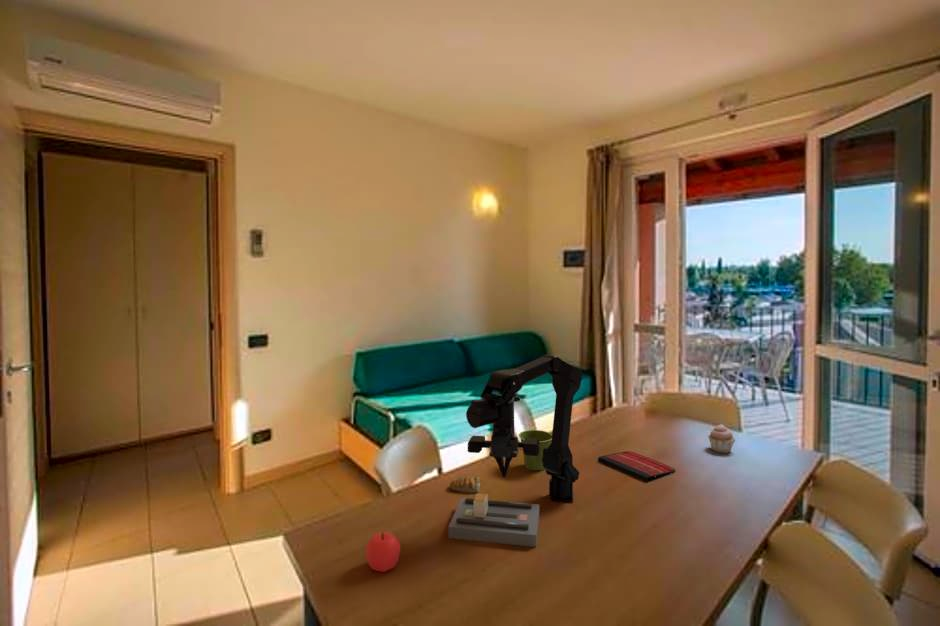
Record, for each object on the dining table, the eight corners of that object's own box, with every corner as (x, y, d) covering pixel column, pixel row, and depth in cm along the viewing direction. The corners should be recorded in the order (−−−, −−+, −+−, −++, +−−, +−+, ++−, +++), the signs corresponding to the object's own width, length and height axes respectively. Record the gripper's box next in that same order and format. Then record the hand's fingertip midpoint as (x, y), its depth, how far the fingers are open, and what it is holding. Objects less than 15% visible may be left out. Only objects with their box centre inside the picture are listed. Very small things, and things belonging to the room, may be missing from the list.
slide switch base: (539, 514, 135) (539, 500, 134) (535, 546, 119) (535, 530, 119) (461, 508, 139) (461, 493, 139) (448, 538, 123) (448, 522, 123)
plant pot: (514, 471, 164) (514, 438, 163) (524, 458, 175) (524, 428, 174) (548, 476, 160) (549, 443, 159) (556, 463, 171) (556, 432, 170)
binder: (647, 477, 154) (597, 456, 172) (646, 484, 155) (597, 462, 172) (678, 468, 163) (628, 449, 181) (678, 474, 163) (627, 455, 181)
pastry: (449, 493, 149) (448, 481, 148) (451, 484, 155) (450, 472, 155) (479, 494, 148) (479, 481, 148) (480, 484, 155) (480, 473, 155)
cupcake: (736, 448, 183) (737, 422, 182) (734, 456, 175) (735, 429, 175) (708, 444, 188) (709, 418, 187) (705, 451, 180) (706, 425, 180)
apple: (384, 581, 107) (383, 546, 106) (358, 569, 111) (357, 535, 110) (408, 562, 113) (407, 529, 113) (382, 552, 117) (381, 520, 117)
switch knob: (487, 508, 132) (487, 493, 131) (484, 517, 127) (484, 502, 126) (477, 507, 132) (476, 492, 132) (473, 516, 127) (473, 501, 127)
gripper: (462, 428, 123) (464, 487, 124) (537, 431, 119) (537, 492, 121) (470, 414, 134) (472, 469, 135) (539, 417, 130) (539, 473, 131)
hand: (504, 476), depth 130 cm, fingers closed
